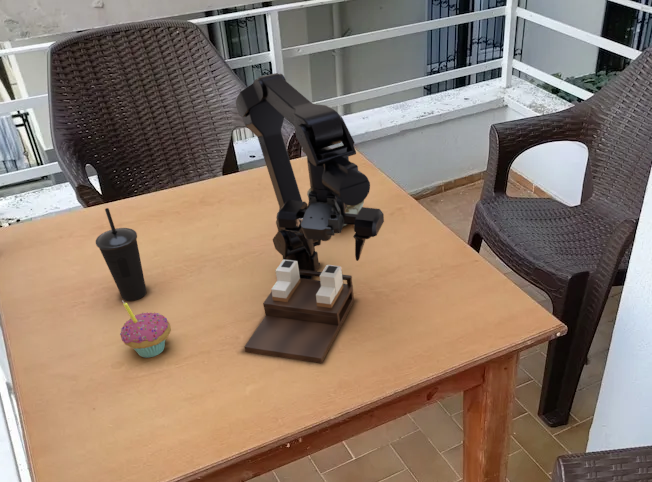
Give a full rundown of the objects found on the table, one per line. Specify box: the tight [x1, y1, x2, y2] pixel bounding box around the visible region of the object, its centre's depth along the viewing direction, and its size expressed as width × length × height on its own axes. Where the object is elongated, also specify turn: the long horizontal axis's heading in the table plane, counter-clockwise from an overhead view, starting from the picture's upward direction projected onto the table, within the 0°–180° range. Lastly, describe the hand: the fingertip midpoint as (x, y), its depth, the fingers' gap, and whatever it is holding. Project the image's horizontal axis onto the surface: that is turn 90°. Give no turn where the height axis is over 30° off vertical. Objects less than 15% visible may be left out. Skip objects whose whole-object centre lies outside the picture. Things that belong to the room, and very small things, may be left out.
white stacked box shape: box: [316, 264, 344, 308], centre depth 132 cm, size 7×3×5 cm, turn 167°
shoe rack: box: [244, 269, 355, 364], centre depth 131 cm, size 15×19×6 cm
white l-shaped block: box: [270, 259, 301, 302], centre depth 133 cm, size 7×3×5 cm, turn 167°
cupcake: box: [119, 299, 172, 359], centre depth 124 cm, size 9×8×12 cm
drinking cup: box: [95, 207, 147, 302], centre depth 136 cm, size 8×8×20 cm
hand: (334, 257), depth 130 cm, fingers open, 9 cm apart
